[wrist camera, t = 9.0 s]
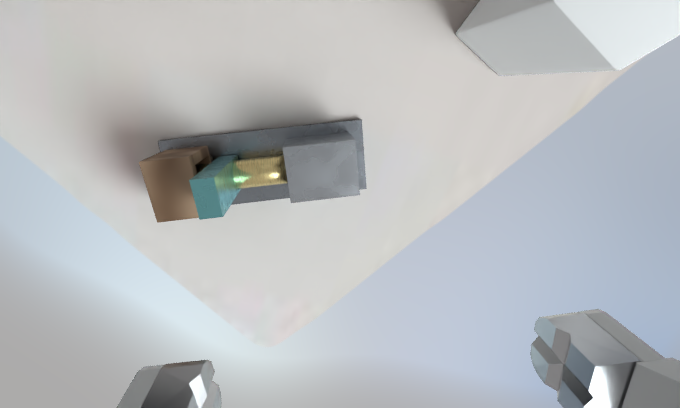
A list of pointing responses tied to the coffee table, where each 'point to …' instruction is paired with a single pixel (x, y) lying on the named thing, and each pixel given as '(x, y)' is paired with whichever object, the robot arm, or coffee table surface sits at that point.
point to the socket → (173, 181)
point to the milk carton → (567, 33)
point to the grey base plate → (295, 158)
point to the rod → (232, 181)
